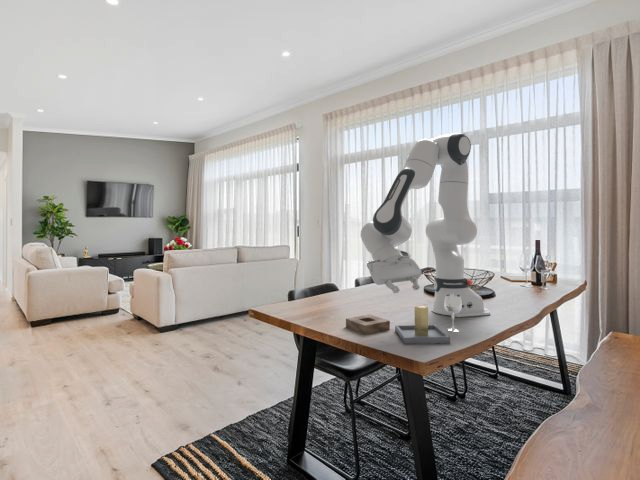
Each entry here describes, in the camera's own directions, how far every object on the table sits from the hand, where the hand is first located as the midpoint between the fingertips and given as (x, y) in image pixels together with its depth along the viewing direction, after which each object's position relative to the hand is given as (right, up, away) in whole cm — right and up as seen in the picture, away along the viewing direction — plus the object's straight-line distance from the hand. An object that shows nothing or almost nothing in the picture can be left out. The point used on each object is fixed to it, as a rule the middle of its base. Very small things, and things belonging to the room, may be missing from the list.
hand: (407, 290), depth 128 cm
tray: (+3, -14, -5) cm, 16 cm away
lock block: (-13, -14, +6) cm, 20 cm away
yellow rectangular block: (+3, -14, -5) cm, 15 cm away
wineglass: (+16, -14, +2) cm, 22 cm away
